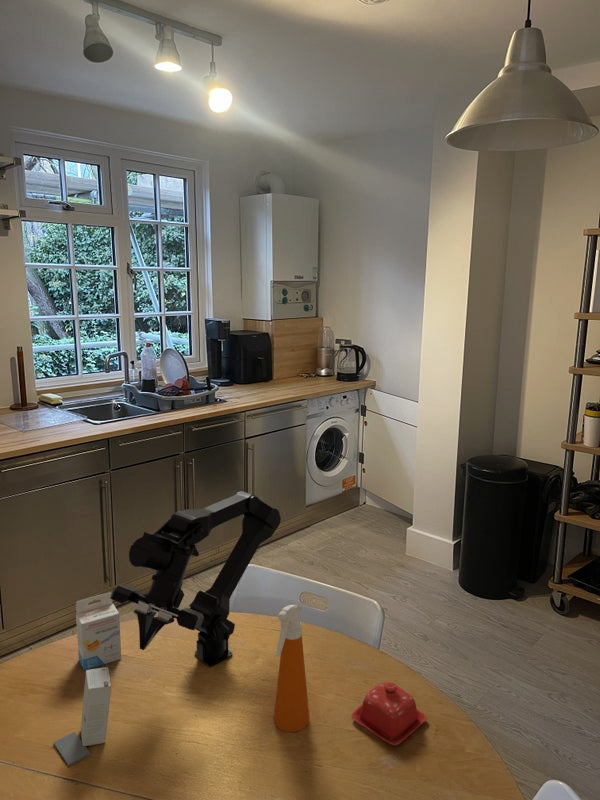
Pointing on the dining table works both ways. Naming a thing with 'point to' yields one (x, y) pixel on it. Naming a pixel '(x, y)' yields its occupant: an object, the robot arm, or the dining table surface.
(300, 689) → the spray bottle
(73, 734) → the flat gray block
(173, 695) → the dining table surface
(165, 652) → the dining table surface
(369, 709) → the butter dish
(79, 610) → the ink box
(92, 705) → the skincare box
